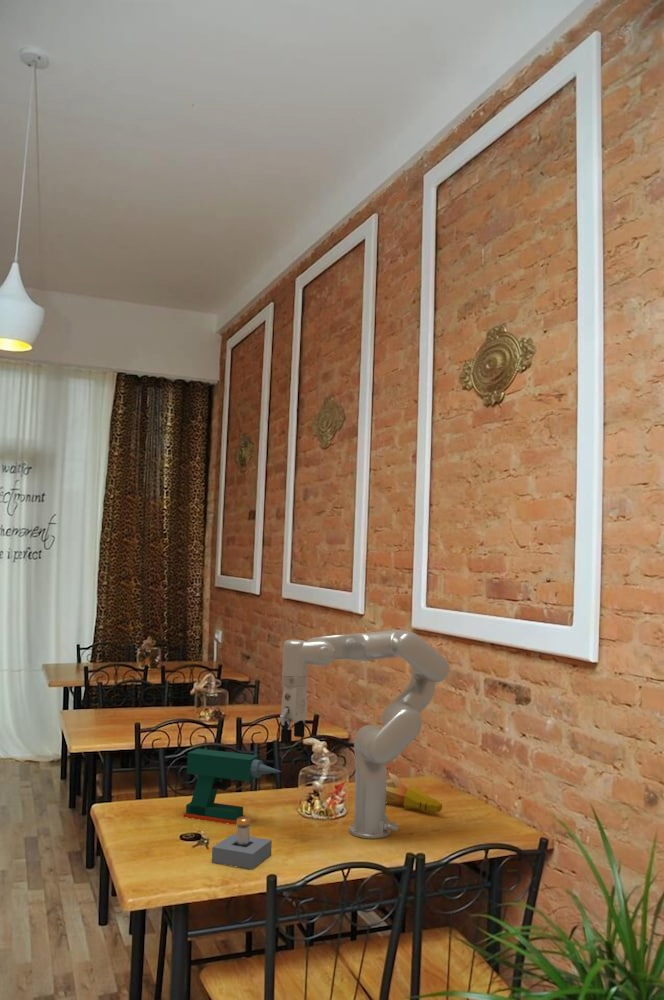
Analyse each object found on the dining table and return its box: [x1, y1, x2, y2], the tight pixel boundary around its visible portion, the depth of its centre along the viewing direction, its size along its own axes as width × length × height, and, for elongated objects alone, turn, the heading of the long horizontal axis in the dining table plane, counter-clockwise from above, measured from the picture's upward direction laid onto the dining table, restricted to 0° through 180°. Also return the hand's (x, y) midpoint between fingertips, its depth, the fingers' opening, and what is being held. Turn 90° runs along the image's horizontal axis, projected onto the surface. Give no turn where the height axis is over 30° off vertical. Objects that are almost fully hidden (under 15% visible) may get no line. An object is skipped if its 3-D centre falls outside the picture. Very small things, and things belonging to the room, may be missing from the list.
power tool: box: [183, 748, 283, 826], centre depth 250 cm, size 32×7×20 cm, turn 71°
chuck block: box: [211, 833, 273, 871], centre depth 218 cm, size 12×12×4 cm
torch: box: [386, 772, 443, 814], centre depth 268 cm, size 8×8×25 cm
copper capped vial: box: [236, 815, 252, 847], centre depth 218 cm, size 4×4×11 cm
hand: (292, 739), depth 238 cm, fingers open, 9 cm apart
